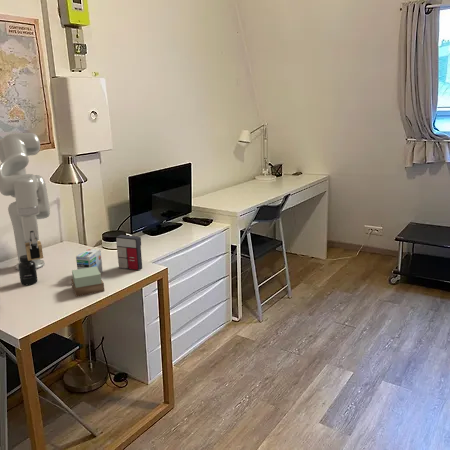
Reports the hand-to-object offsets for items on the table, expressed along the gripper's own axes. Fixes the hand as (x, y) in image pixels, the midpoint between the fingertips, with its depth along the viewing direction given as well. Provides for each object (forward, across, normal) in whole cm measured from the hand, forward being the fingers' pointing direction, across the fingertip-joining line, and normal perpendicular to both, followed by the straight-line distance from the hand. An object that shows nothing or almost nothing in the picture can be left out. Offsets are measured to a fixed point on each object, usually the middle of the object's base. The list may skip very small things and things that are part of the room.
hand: (34, 255), depth 179 cm
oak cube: (+1, 0, 0) cm, 1 cm away
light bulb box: (+18, -12, +22) cm, 31 cm away
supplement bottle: (+18, -17, -3) cm, 25 cm away
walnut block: (+18, +3, +18) cm, 25 cm away
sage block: (+14, +3, +18) cm, 23 cm away
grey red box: (+18, -12, +40) cm, 45 cm away
